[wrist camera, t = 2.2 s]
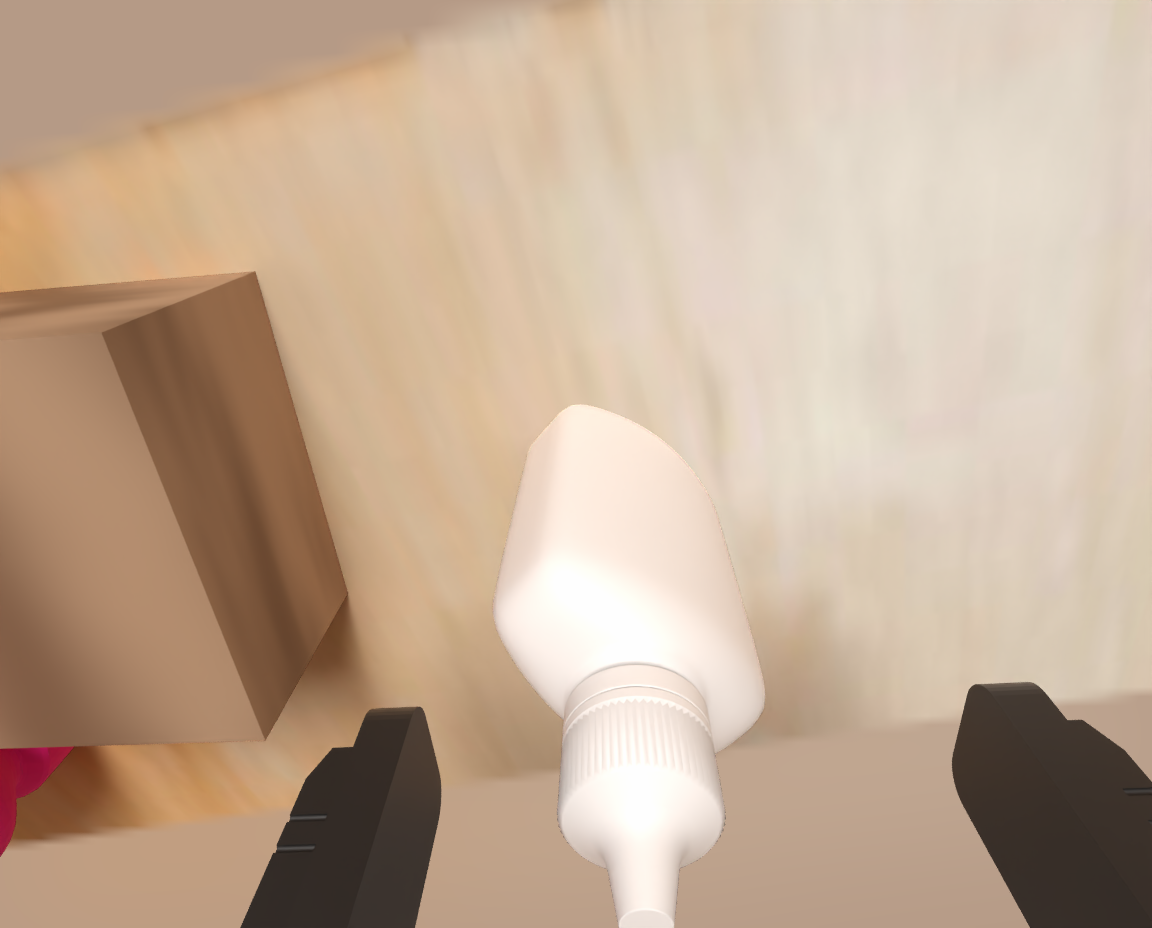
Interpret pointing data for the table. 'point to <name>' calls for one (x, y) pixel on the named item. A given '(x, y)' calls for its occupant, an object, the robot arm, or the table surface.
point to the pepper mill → (23, 780)
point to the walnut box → (153, 517)
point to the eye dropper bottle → (628, 648)
